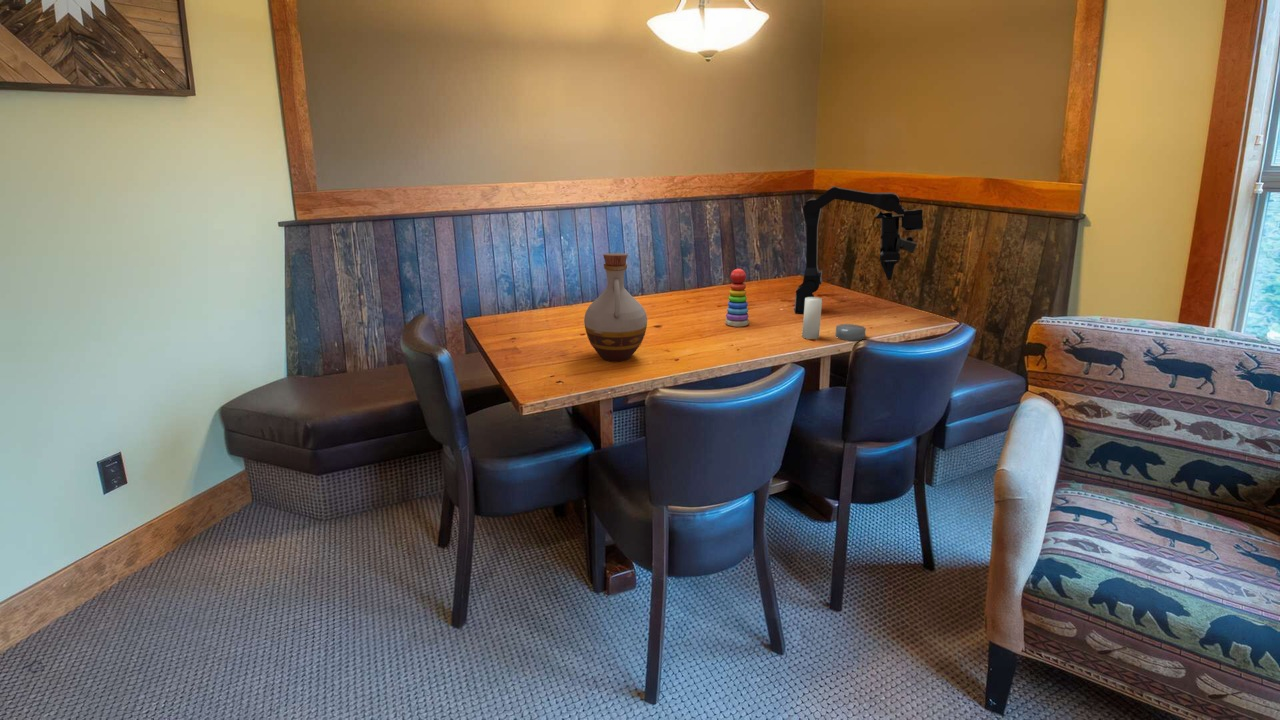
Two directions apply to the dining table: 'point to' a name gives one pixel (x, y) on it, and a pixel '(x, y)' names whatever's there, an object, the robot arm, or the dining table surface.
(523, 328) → the dining table surface
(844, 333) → the plinth
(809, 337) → the tapered white cylinder
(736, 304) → the stacking toy
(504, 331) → the dining table surface
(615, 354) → the jug
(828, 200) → the robot arm
